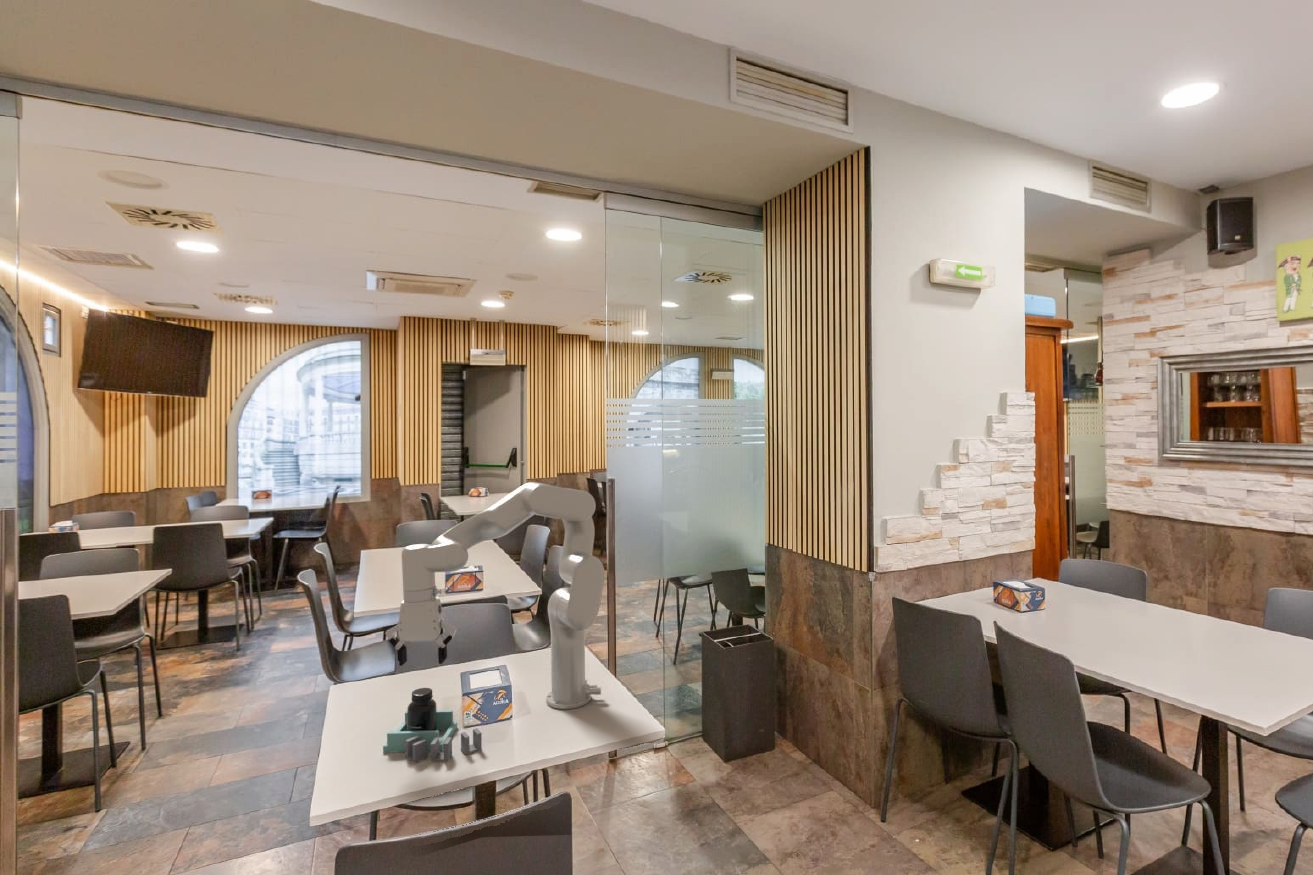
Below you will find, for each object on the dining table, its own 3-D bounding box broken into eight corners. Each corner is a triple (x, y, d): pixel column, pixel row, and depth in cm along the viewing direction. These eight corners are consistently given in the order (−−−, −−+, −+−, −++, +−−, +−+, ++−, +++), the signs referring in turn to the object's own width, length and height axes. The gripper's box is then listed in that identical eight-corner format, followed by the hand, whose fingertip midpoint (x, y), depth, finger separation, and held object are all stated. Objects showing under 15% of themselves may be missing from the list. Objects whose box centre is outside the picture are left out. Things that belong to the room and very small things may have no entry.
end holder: (457, 727, 160) (456, 709, 160) (442, 751, 148) (441, 732, 148) (402, 728, 160) (402, 711, 160) (383, 752, 148) (382, 733, 148)
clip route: (484, 745, 150) (484, 727, 150) (475, 762, 143) (475, 743, 143) (414, 746, 150) (413, 729, 150) (401, 763, 142) (401, 745, 142)
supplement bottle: (409, 748, 149) (408, 699, 149) (406, 736, 155) (405, 689, 155) (438, 741, 152) (438, 693, 152) (434, 730, 158) (434, 683, 158)
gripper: (459, 589, 158) (462, 655, 158) (390, 592, 157) (393, 658, 158) (449, 597, 150) (452, 667, 150) (378, 600, 150) (381, 670, 150)
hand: (422, 662), depth 154 cm, fingers open, 9 cm apart
